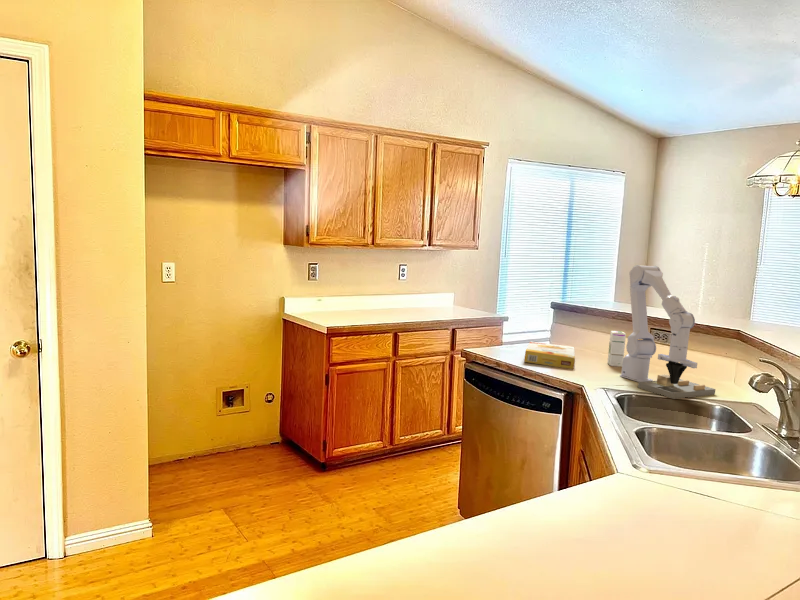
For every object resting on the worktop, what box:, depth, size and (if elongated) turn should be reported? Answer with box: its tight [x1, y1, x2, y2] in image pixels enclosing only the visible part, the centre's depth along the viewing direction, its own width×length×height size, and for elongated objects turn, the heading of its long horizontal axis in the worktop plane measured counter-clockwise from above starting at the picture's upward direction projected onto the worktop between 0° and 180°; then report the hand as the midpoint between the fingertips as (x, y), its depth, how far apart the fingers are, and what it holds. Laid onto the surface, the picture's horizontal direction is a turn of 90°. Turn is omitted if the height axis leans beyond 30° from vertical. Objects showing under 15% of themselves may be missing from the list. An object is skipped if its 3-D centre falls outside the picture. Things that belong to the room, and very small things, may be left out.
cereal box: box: [523, 341, 576, 370], centre depth 255 cm, size 20×6×28 cm
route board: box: [637, 379, 716, 400], centre depth 213 cm, size 15×22×4 cm
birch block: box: [656, 373, 674, 386], centre depth 214 cm, size 4×4×3 cm
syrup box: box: [607, 330, 627, 368], centre depth 252 cm, size 6×6×14 cm
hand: (674, 383), depth 211 cm, fingers closed
